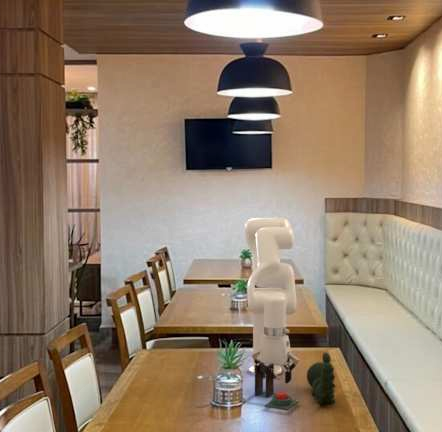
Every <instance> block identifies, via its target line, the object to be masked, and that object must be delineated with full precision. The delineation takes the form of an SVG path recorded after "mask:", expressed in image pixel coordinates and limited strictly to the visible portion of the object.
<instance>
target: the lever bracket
mask: <svg viewBox="0 0 442 432" xmlns="http://www.w3.org/2000/svg"><path fill="white" fill-rule="evenodd" d="M261 365H263V362H259V363H258V364H256V365H255V372H254V397H259V396H260V395H262V394H264V379H263V374H262V373H260V372H259V370H260V366H261ZM274 382H275V380H274V364H273V363H271V364H269V365H268V366H266V374H265V398H266V399H270V398H272V397H273V396H275V391H274V390H275V388H274V387H275V383H274Z"/></svg>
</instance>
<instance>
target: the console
mask: <svg viewBox="0 0 442 432" xmlns="http://www.w3.org/2000/svg"><path fill="white" fill-rule="evenodd" d="M298 403H299V400H297V399H292V396H290V395H289V394H287V399H284V400H280V399H277V394H274V395H272V396H271V400H270V401H268V402H267V403H265V404H264V408H269V409H276V410H282V411H289V410H290V409H292V408H293V407H294V406H295V405H297V404H298Z"/></svg>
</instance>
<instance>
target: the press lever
mask: <svg viewBox="0 0 442 432" xmlns="http://www.w3.org/2000/svg"><path fill="white" fill-rule="evenodd" d="M266 366H267V365H261V366H260V370H259V372H260V373H262V374H265V375H266ZM282 380H283V376H281V375H274V381H282Z"/></svg>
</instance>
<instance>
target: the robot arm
mask: <svg viewBox="0 0 442 432" xmlns="http://www.w3.org/2000/svg"><path fill="white" fill-rule="evenodd" d="M244 235H245V239H246V243H247V245H248V248H249V250H250V254H251V263H252V273H251V275H250V276H249V278H248V281H247V284H246V285H247V286H246V296H247V308H248V311H249V312H250V313H252V354H251V357H252V366H251V367H249V368H248V372H251V373H255V365H256V364H258V363H259V362H263V365H267V366H268V365H269V364H271V363H273V364H274V375H276V376H279V375H280V374H282V372H283V369H282V366H283V367H284V369H285V372H284V383H285V384H289V383H290V382H291V381H292V371H293V370H294V369H295V368H296V367H297V365H298V363H299V358H298V357H297V356H296V355H294V354H292V352H291V342H290V337H289V335H288V334H290V329H288V328H287V316H289V315H293V314H295V312H296V311H297V307H298V305H297V304H298V303H297V301H298V300H297V291H296V279H295V272H294V268H293V266H292V265H291V264H289V263H286V262H281V257H280V250H291V249H293V247H294V245H295V234H294V230H293V228H292V226H291V223H290V221H289V220H288V219H287V218H285V217H255V218H251V219H248V220H247V221H246V222H245V224H244ZM256 288H260V290H256ZM261 288H262V290H261ZM291 361H292V364H291ZM264 379H266V374H263V380H264Z"/></svg>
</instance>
